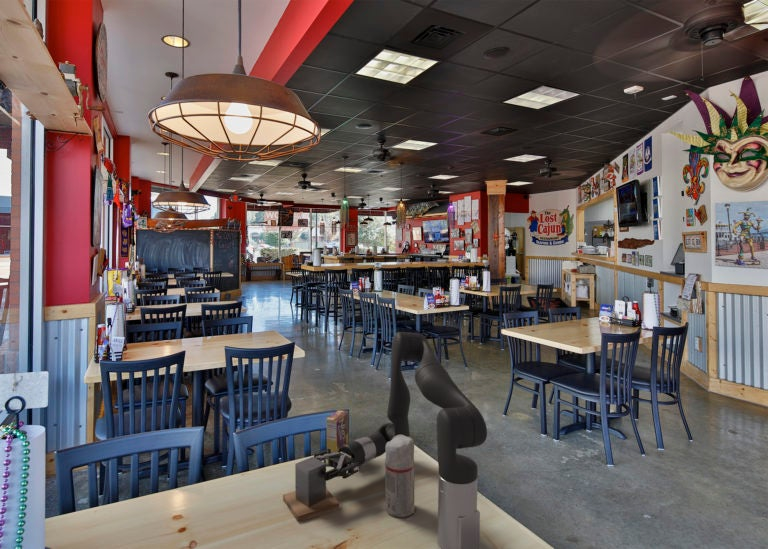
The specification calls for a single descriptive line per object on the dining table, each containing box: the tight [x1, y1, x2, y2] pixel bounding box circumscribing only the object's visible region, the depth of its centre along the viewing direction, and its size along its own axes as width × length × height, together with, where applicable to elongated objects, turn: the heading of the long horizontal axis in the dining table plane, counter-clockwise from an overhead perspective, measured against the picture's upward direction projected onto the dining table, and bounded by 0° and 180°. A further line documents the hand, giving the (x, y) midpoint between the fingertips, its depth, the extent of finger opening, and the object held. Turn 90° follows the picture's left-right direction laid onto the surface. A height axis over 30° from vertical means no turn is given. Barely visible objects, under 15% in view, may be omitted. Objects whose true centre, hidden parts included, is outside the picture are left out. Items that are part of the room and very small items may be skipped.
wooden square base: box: [282, 487, 341, 523], centre depth 122 cm, size 12×12×8 cm
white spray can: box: [384, 435, 416, 518], centre depth 120 cm, size 8×8×20 cm
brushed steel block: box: [294, 456, 327, 507], centre depth 122 cm, size 6×6×10 cm
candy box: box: [325, 410, 349, 463], centre depth 150 cm, size 9×4×15 cm, turn 160°
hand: (315, 471), depth 123 cm, fingers open, 8 cm apart
